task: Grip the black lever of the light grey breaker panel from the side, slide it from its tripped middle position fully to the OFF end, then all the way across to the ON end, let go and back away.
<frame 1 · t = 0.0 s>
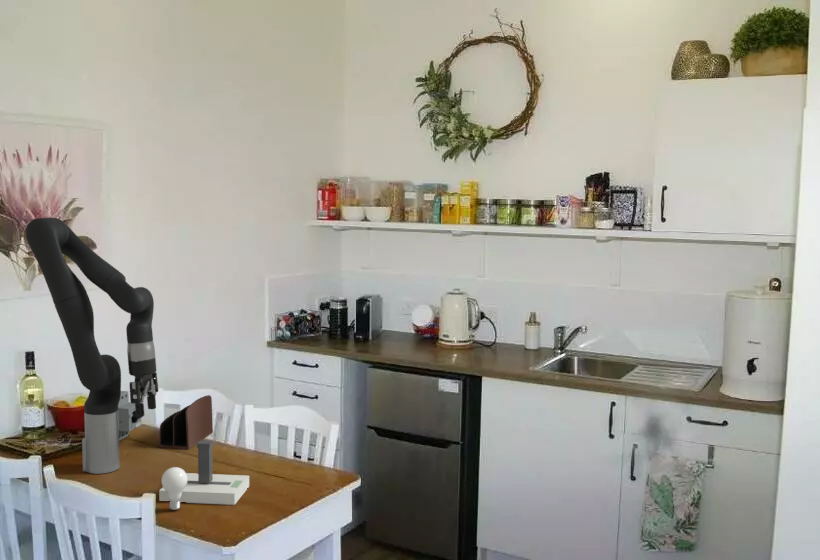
hand: (146, 412, 236), 17 cm above the table, tool pointing down, fingers open, 8 cm apart
breaker panel: (205, 493, 220), on the table
circuit breaker: (120, 439, 269), on the table
lightbulb: (174, 510, 209), on the table
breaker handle: (205, 461, 219), point 9 cm above the table, slide at 0.0 cm
letter holder: (186, 441, 269), on the table
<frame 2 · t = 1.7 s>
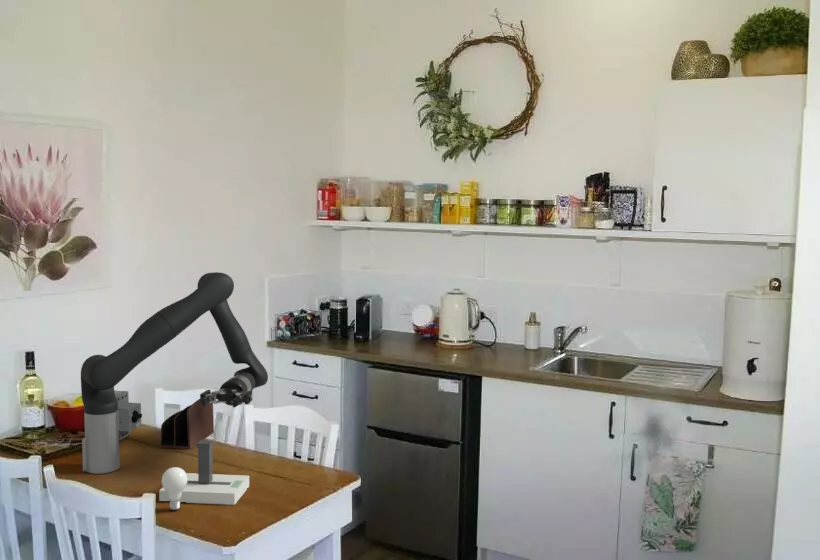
hand: (218, 403, 230), 22 cm above the table, tool horizontal, fingers open, 8 cm apart
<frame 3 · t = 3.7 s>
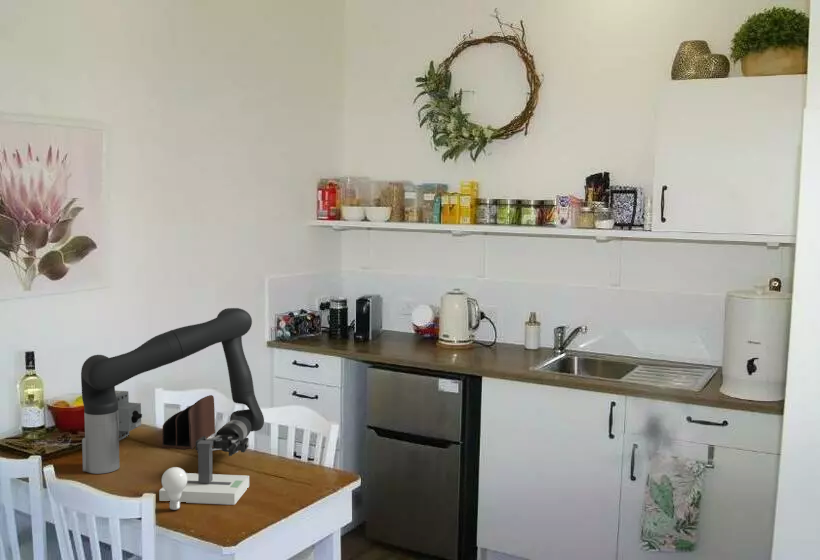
hand: (214, 451, 227), 9 cm above the table, tool horizontal, fingers open, 8 cm apart
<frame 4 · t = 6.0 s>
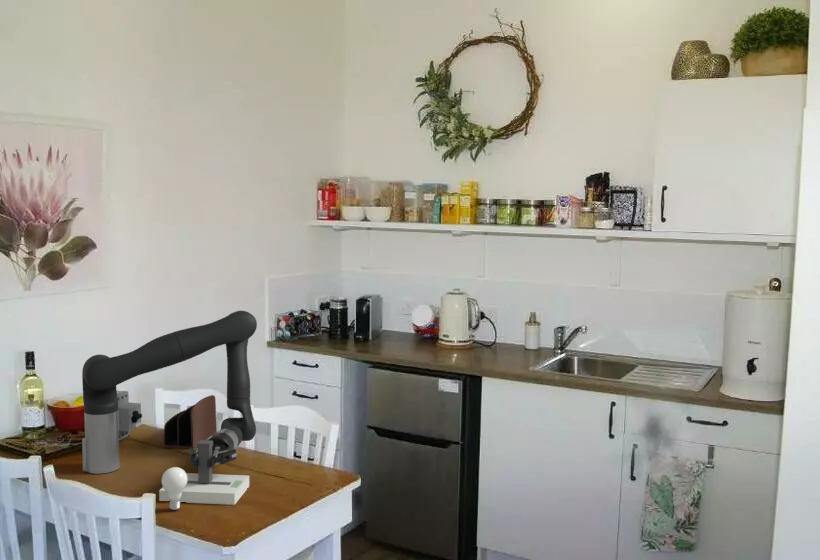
hand: (201, 464, 217), 9 cm above the table, tool horizontal, fingers closed on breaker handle, 3 cm apart
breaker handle: (205, 461, 219), point 9 cm above the table, slide at 0.0 cm, touching gripper
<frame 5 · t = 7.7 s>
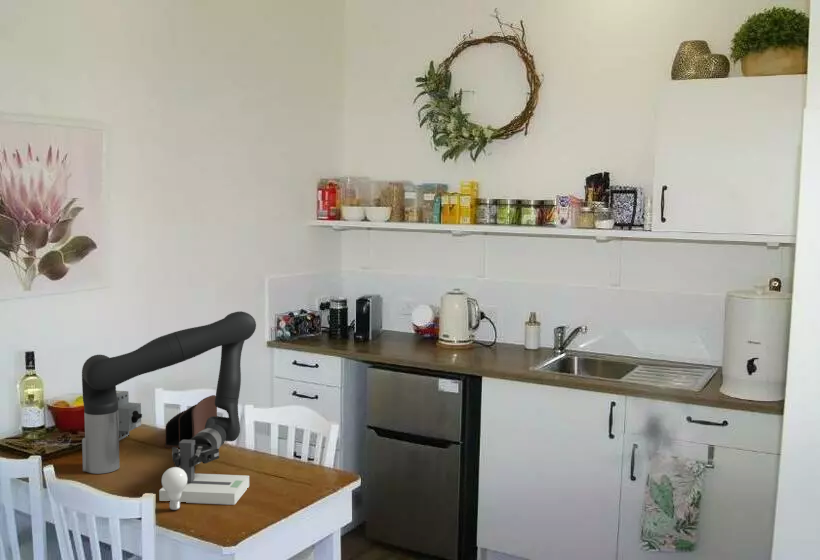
hand: (183, 463, 217), 9 cm above the table, tool horizontal, fingers closed on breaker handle, 3 cm apart
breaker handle: (187, 461, 220), point 9 cm above the table, slide at -4.9 cm, touching gripper
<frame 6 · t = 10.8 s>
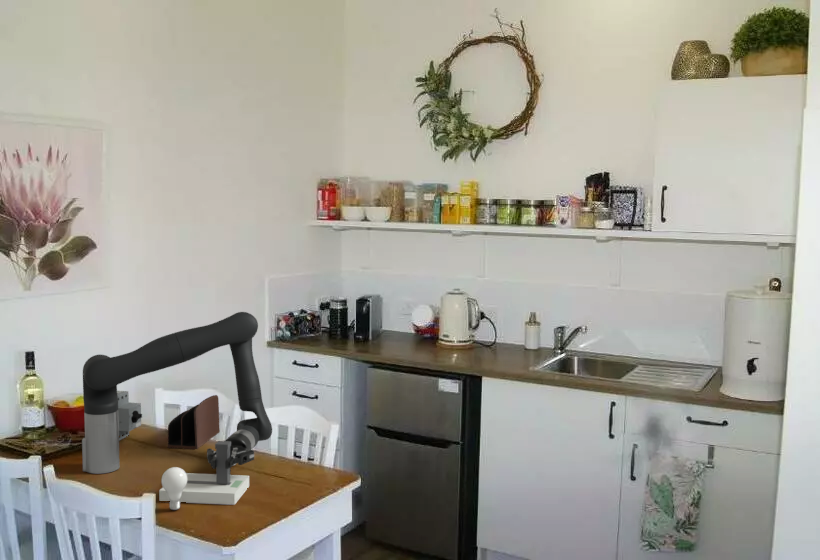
hand: (220, 465, 216), 9 cm above the table, tool horizontal, fingers closed on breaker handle, 3 cm apart
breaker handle: (223, 462, 219), point 9 cm above the table, slide at 4.9 cm, touching gripper
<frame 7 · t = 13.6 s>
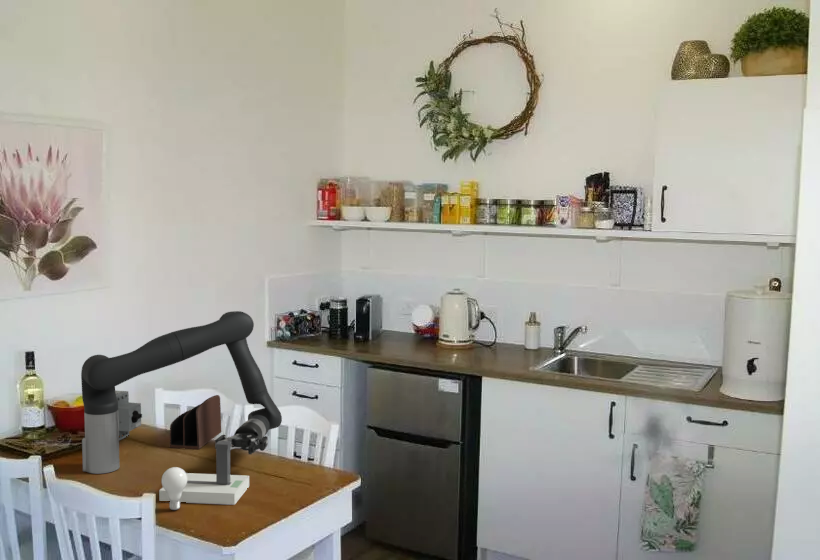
hand: (234, 450, 229), 9 cm above the table, tool horizontal, fingers open, 8 cm apart
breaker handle: (223, 462, 219), point 9 cm above the table, slide at 4.9 cm
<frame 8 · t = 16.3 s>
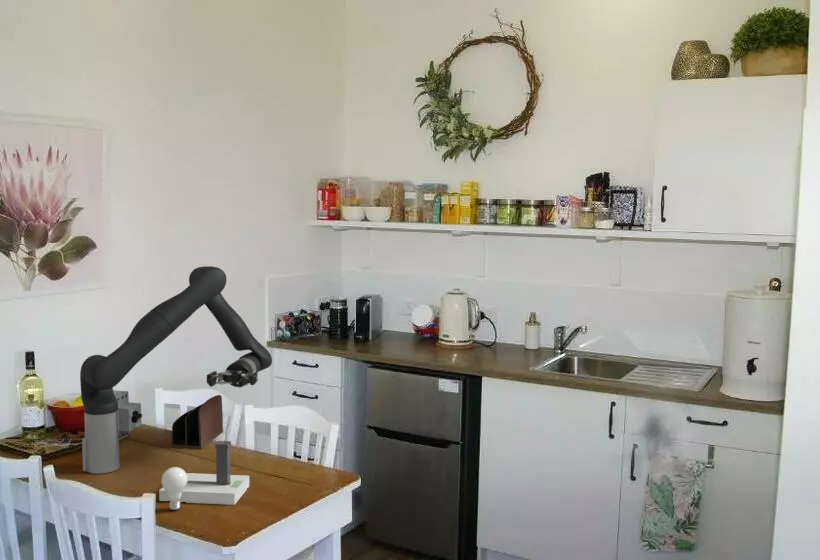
hand: (225, 383, 236), 26 cm above the table, tool horizontal, fingers open, 8 cm apart
at the end: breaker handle slide at 4.9 cm; the gripper is holding nothing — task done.
